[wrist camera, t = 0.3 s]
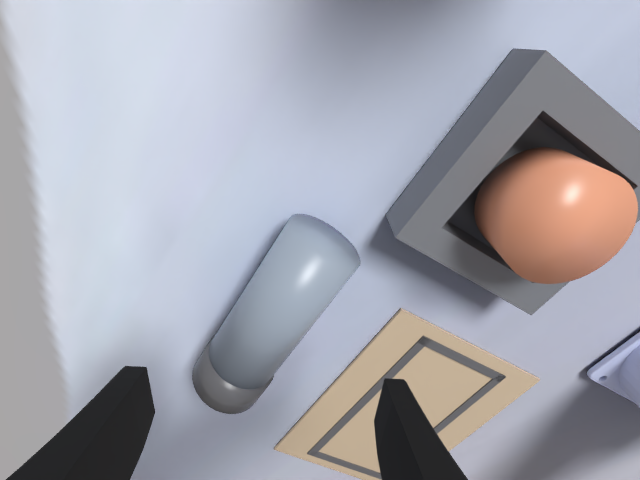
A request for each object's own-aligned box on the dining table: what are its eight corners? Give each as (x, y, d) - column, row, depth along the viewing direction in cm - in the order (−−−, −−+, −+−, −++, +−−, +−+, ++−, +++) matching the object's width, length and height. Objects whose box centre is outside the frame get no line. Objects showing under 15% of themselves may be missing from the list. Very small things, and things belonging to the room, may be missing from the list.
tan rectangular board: (538, 377, 25) (541, 381, 25) (397, 488, 32) (397, 492, 32) (400, 307, 22) (402, 311, 22) (274, 447, 29) (274, 451, 28)
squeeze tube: (357, 240, 20) (367, 286, 16) (262, 365, 24) (254, 423, 21) (289, 202, 19) (283, 243, 15) (203, 341, 23) (182, 398, 19)
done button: (609, 183, 17) (665, 211, 14) (526, 264, 19) (561, 301, 16) (532, 124, 15) (578, 142, 13) (451, 218, 17) (477, 250, 15)
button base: (644, 157, 18) (690, 174, 16) (508, 286, 22) (531, 315, 19) (513, 48, 15) (546, 50, 13) (385, 214, 19) (395, 237, 17)
